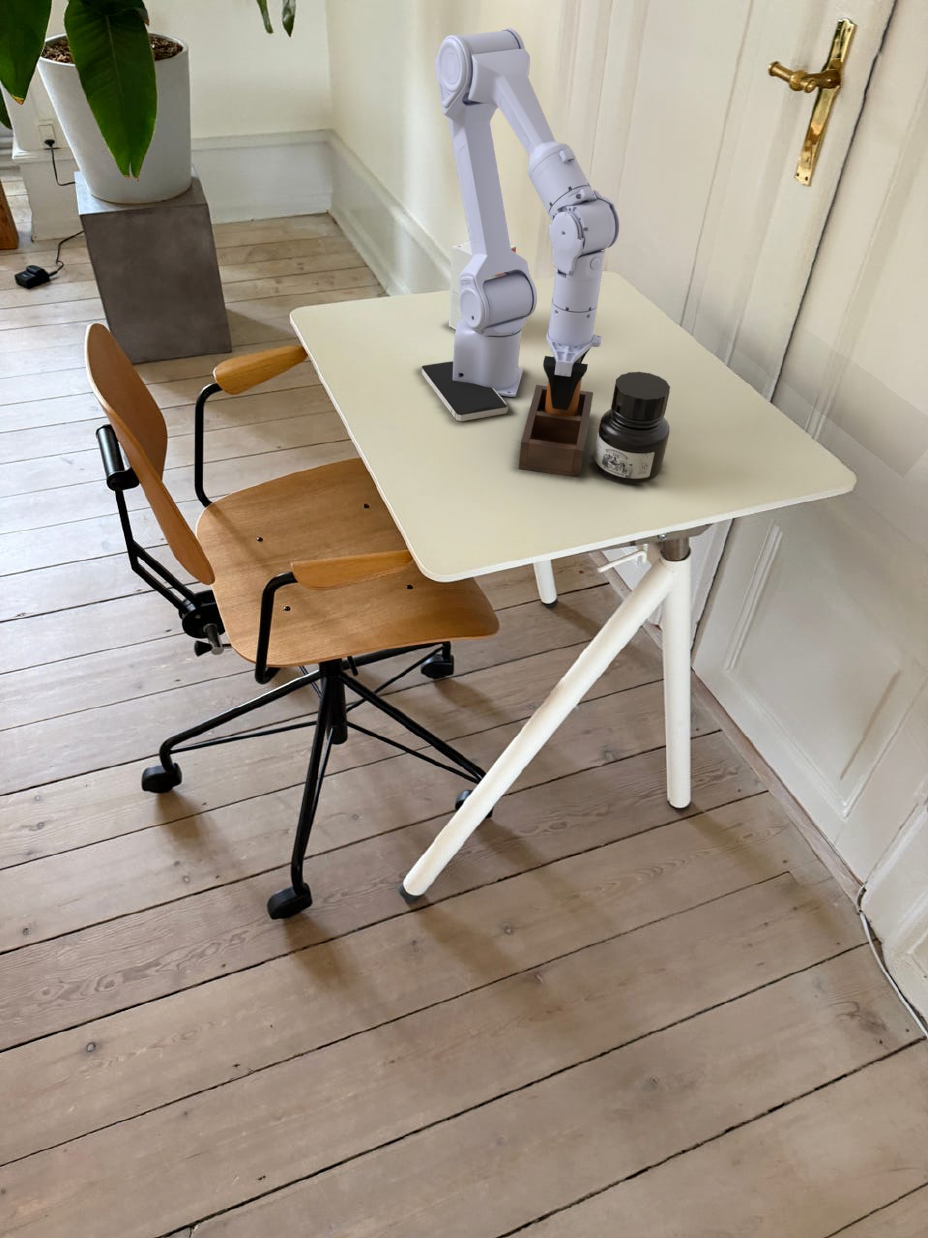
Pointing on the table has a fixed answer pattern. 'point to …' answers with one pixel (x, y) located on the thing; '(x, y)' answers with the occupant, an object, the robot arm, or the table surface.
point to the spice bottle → (573, 405)
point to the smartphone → (463, 394)
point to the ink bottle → (634, 429)
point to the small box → (458, 263)
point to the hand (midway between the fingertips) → (562, 398)
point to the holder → (554, 436)
